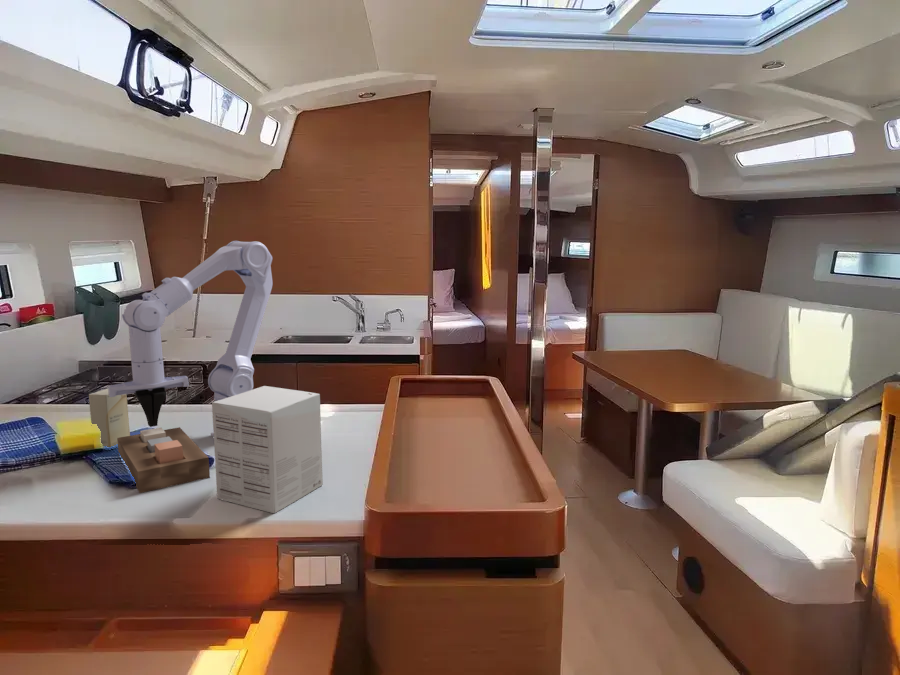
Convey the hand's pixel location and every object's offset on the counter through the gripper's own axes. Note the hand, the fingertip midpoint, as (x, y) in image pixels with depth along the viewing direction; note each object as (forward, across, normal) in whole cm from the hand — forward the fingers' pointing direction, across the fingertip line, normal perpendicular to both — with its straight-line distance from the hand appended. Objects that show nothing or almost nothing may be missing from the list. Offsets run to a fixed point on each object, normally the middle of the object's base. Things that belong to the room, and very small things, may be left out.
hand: (152, 425), depth 125 cm
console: (+7, 0, +7) cm, 10 cm away
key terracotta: (+4, 0, +14) cm, 14 cm away
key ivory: (+5, 0, 0) cm, 5 cm away
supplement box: (+7, -13, +31) cm, 34 cm away
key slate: (+5, 0, +7) cm, 8 cm away
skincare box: (+7, +6, -12) cm, 15 cm away
